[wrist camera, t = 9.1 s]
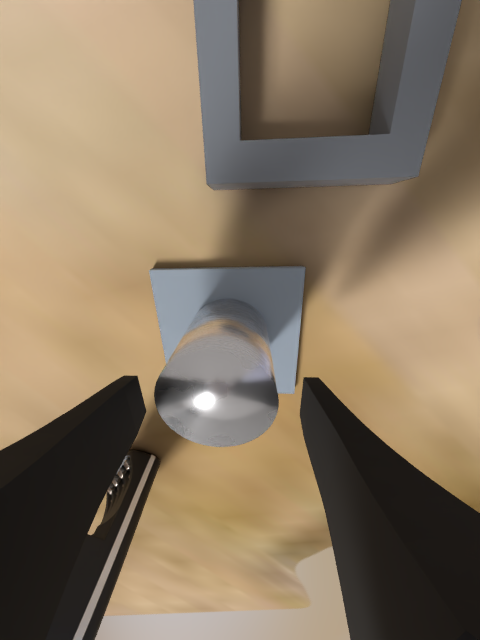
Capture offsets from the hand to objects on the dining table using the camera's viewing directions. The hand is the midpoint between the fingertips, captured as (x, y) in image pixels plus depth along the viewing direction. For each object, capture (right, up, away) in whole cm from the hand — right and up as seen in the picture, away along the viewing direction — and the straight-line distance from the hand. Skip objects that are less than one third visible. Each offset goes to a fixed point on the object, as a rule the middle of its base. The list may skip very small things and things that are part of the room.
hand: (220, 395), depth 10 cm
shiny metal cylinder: (0, +2, +5) cm, 5 cm away
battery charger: (-9, -11, +12) cm, 18 cm away
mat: (0, +2, +5) cm, 6 cm away
